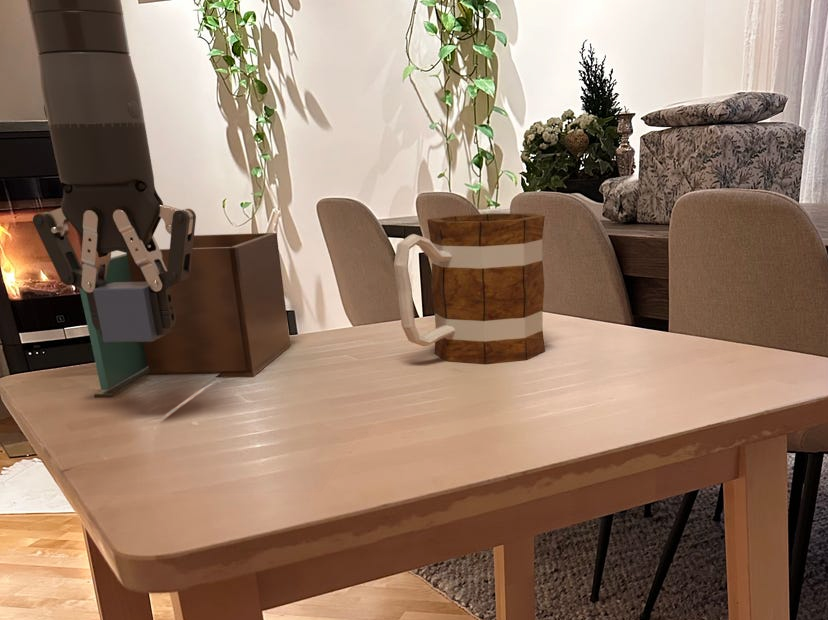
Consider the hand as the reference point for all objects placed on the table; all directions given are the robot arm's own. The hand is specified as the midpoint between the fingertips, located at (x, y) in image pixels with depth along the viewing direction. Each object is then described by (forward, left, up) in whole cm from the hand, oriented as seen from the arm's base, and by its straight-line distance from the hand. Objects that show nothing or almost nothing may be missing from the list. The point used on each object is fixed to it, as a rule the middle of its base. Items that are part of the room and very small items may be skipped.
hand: (136, 333), depth 86 cm
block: (0, 0, 0) cm, 0 cm away
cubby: (-3, +24, -8) cm, 25 cm away
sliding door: (-9, +19, -7) cm, 22 cm away
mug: (+28, +29, -9) cm, 41 cm away
